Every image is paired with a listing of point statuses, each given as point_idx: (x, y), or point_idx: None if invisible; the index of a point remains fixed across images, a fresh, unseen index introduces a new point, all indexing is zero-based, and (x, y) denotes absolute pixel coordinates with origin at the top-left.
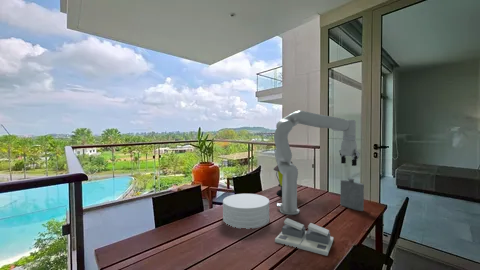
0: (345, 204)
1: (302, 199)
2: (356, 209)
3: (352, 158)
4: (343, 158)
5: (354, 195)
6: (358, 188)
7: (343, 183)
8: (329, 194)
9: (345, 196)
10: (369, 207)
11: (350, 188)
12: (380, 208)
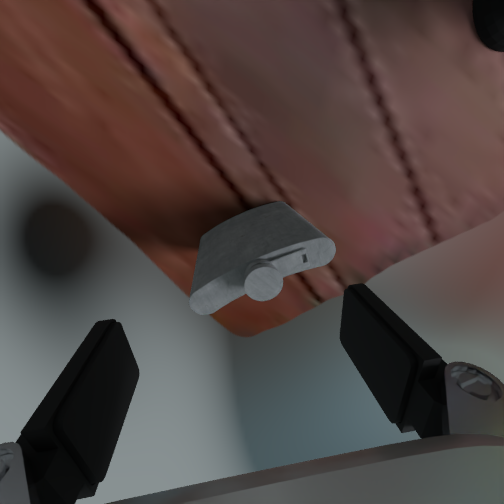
0: (258, 209)
1: (410, 50)
2: (214, 227)
3: (23, 471)
4: (393, 374)
5: (223, 243)
6: (204, 272)
7: (295, 236)
8: (405, 234)
9: (264, 218)
10: None
11: (245, 246)
12: (215, 314)
